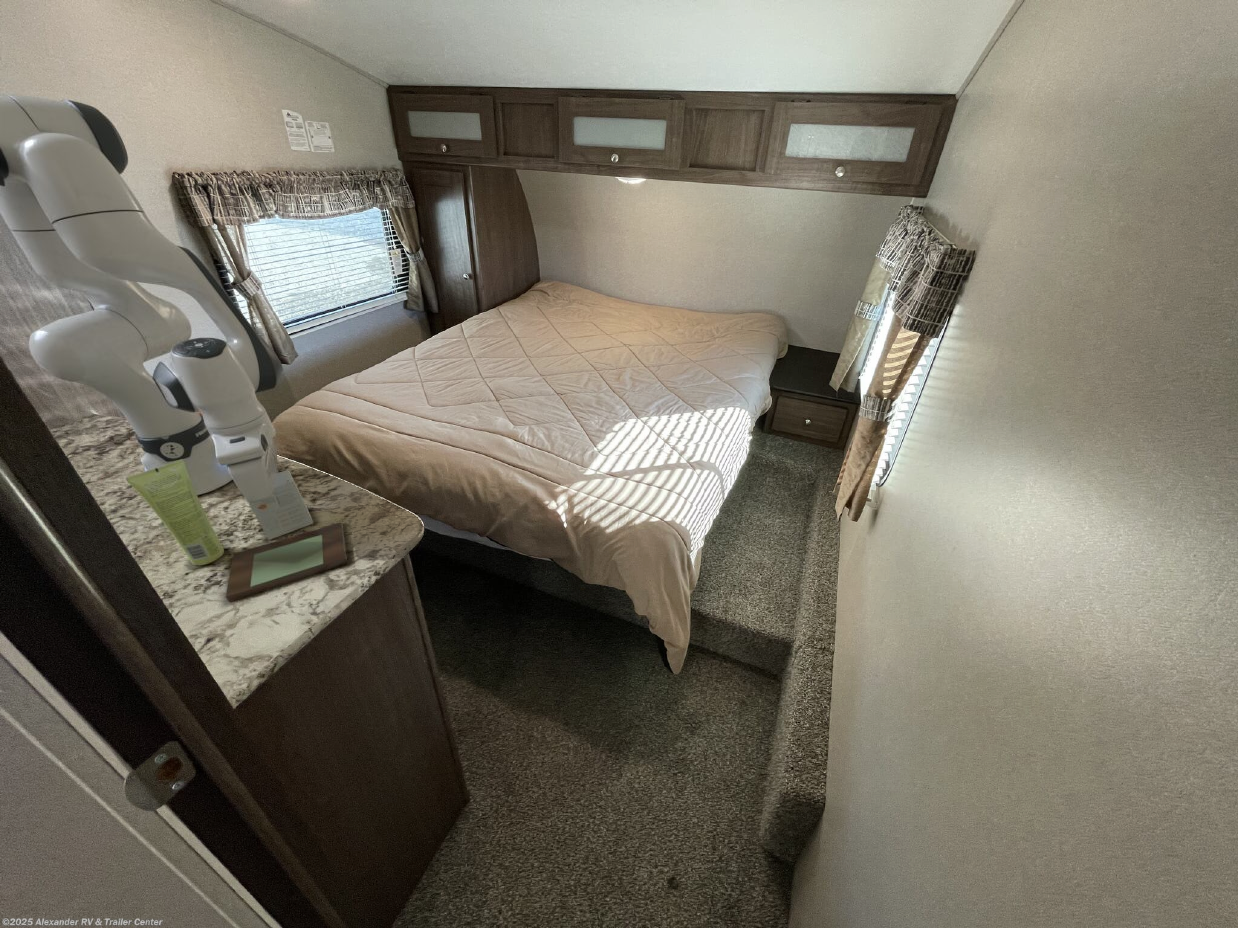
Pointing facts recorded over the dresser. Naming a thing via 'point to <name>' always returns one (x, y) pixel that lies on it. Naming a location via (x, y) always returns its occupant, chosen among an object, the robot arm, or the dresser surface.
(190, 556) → the tube
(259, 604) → the dresser surface
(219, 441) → the robot arm
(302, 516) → the small box
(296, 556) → the walnut board
